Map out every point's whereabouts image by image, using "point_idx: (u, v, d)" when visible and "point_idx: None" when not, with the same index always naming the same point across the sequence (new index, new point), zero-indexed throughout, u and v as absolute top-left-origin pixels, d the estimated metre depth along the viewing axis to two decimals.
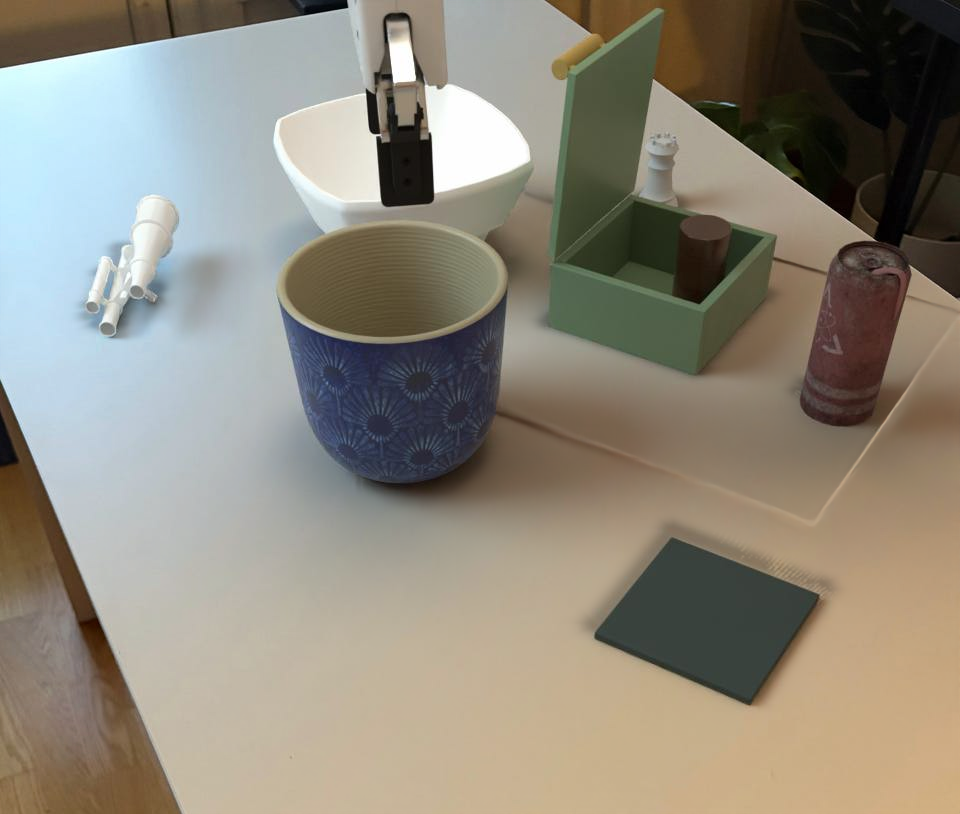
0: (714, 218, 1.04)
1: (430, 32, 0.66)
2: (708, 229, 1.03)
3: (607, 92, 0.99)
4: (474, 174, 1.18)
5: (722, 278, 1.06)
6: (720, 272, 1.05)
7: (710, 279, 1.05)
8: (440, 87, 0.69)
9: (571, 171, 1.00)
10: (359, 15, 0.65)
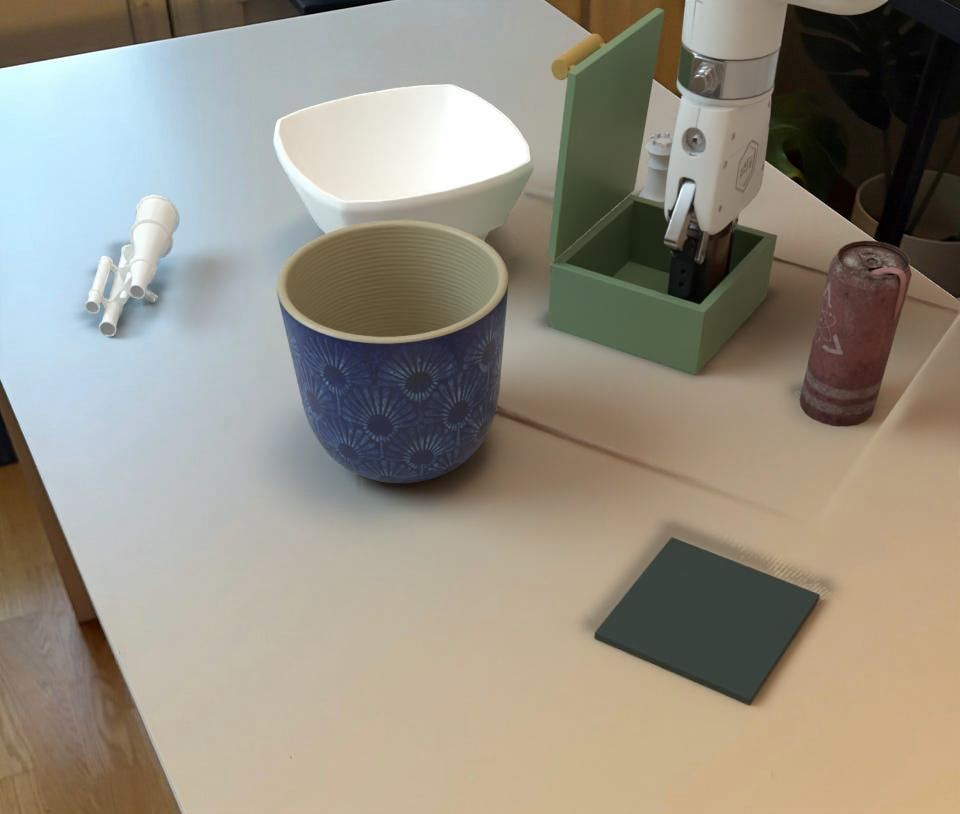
0: None
1: (706, 197, 0.96)
2: None
3: (607, 92, 0.99)
4: (474, 174, 1.18)
5: (722, 278, 1.06)
6: (720, 272, 1.05)
7: (709, 279, 1.05)
8: (709, 233, 0.99)
9: (571, 171, 1.00)
10: None
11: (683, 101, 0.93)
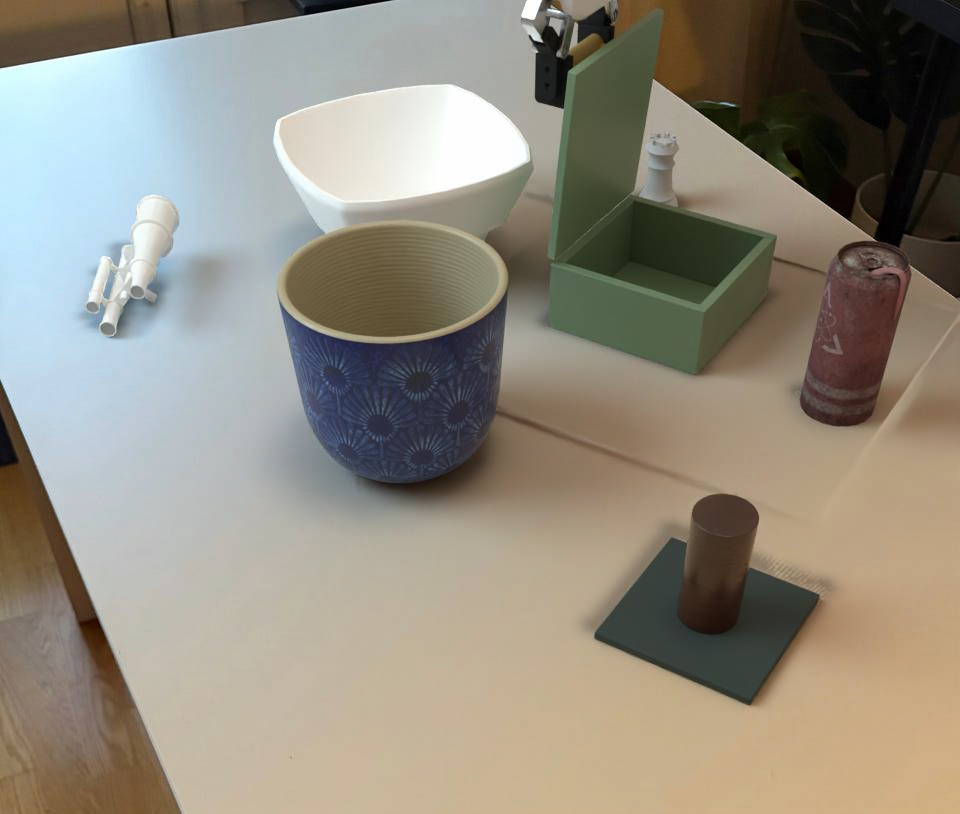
0: (736, 500, 0.81)
1: None
2: (728, 518, 0.80)
3: (607, 92, 0.99)
4: (474, 174, 1.18)
5: (746, 572, 0.82)
6: (744, 568, 0.82)
7: (730, 577, 0.81)
8: (573, 17, 0.93)
9: (571, 171, 1.00)
10: None
11: None
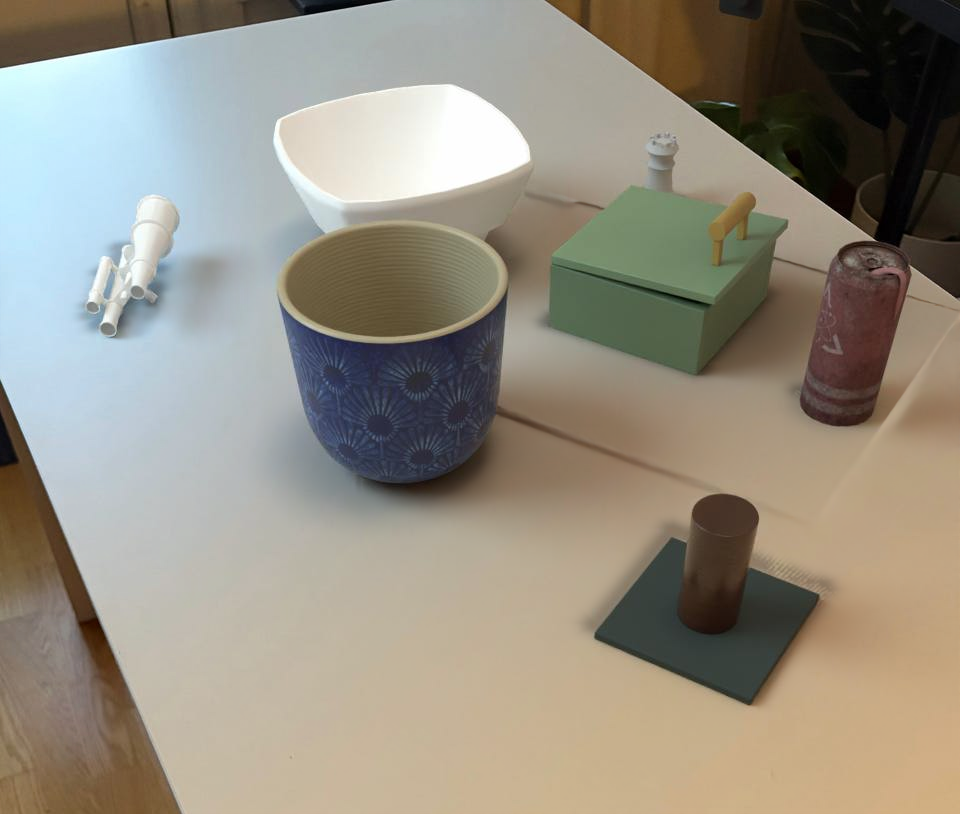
0: (736, 500, 0.81)
1: None
2: (728, 518, 0.80)
3: None
4: (474, 174, 1.18)
5: (746, 572, 0.82)
6: (744, 568, 0.82)
7: (730, 577, 0.81)
8: None
9: None
10: None
11: None
